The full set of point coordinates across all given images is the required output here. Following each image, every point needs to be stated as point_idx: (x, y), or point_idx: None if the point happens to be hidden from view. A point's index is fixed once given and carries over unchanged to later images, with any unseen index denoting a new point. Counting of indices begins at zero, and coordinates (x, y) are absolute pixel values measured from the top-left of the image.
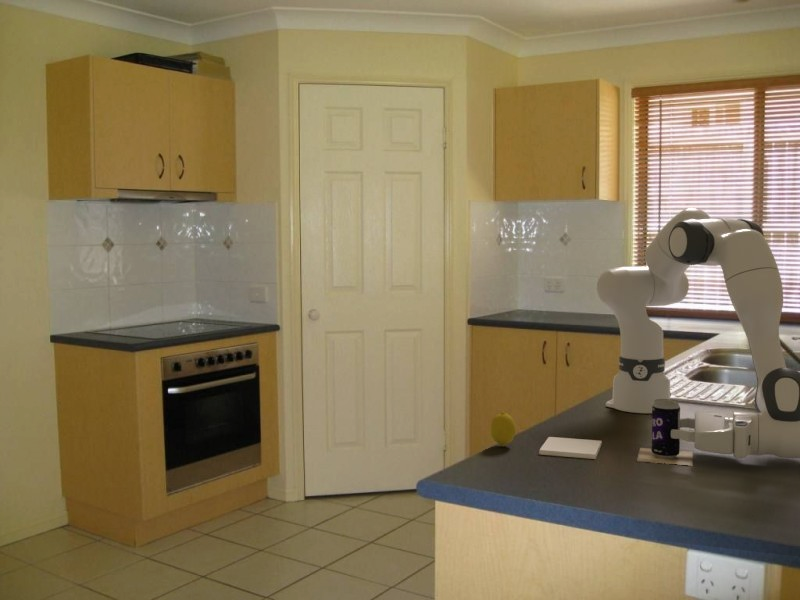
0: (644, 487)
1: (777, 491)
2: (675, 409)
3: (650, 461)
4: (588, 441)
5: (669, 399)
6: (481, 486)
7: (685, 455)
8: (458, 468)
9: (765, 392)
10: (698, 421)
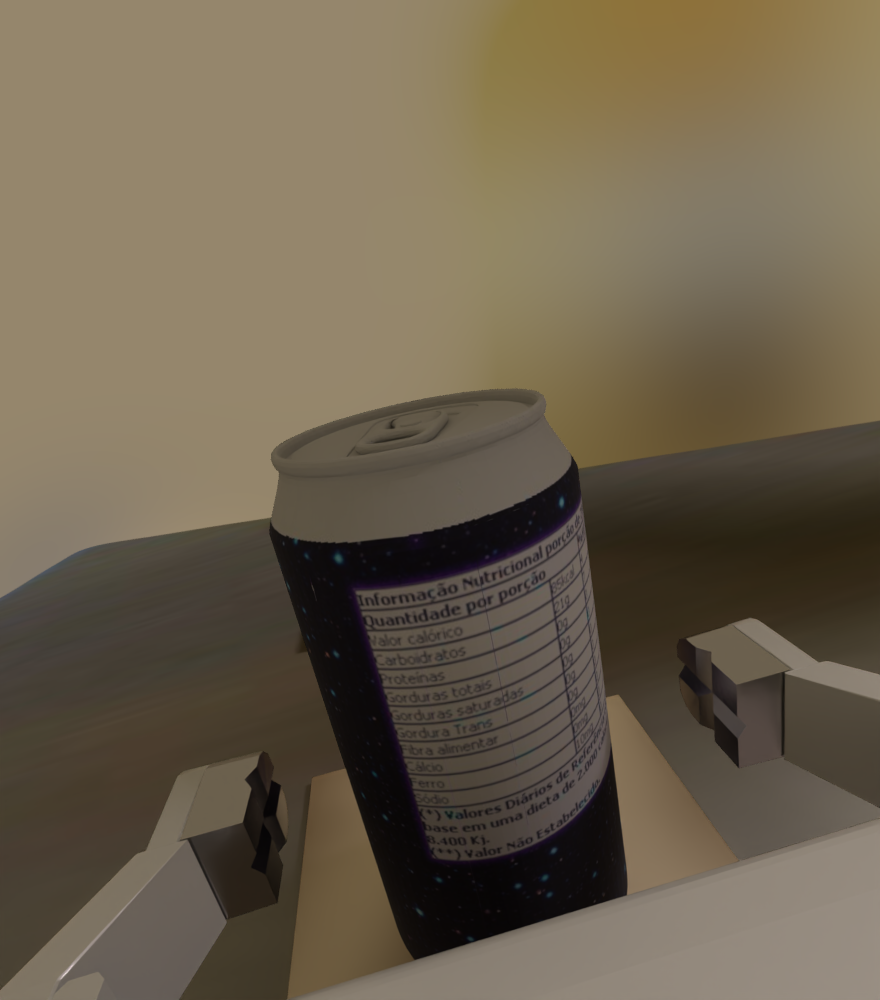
0: None
1: None
2: (299, 550)
3: (317, 845)
4: None
5: (536, 399)
6: (14, 600)
7: None
8: (175, 537)
9: None
10: (568, 979)
